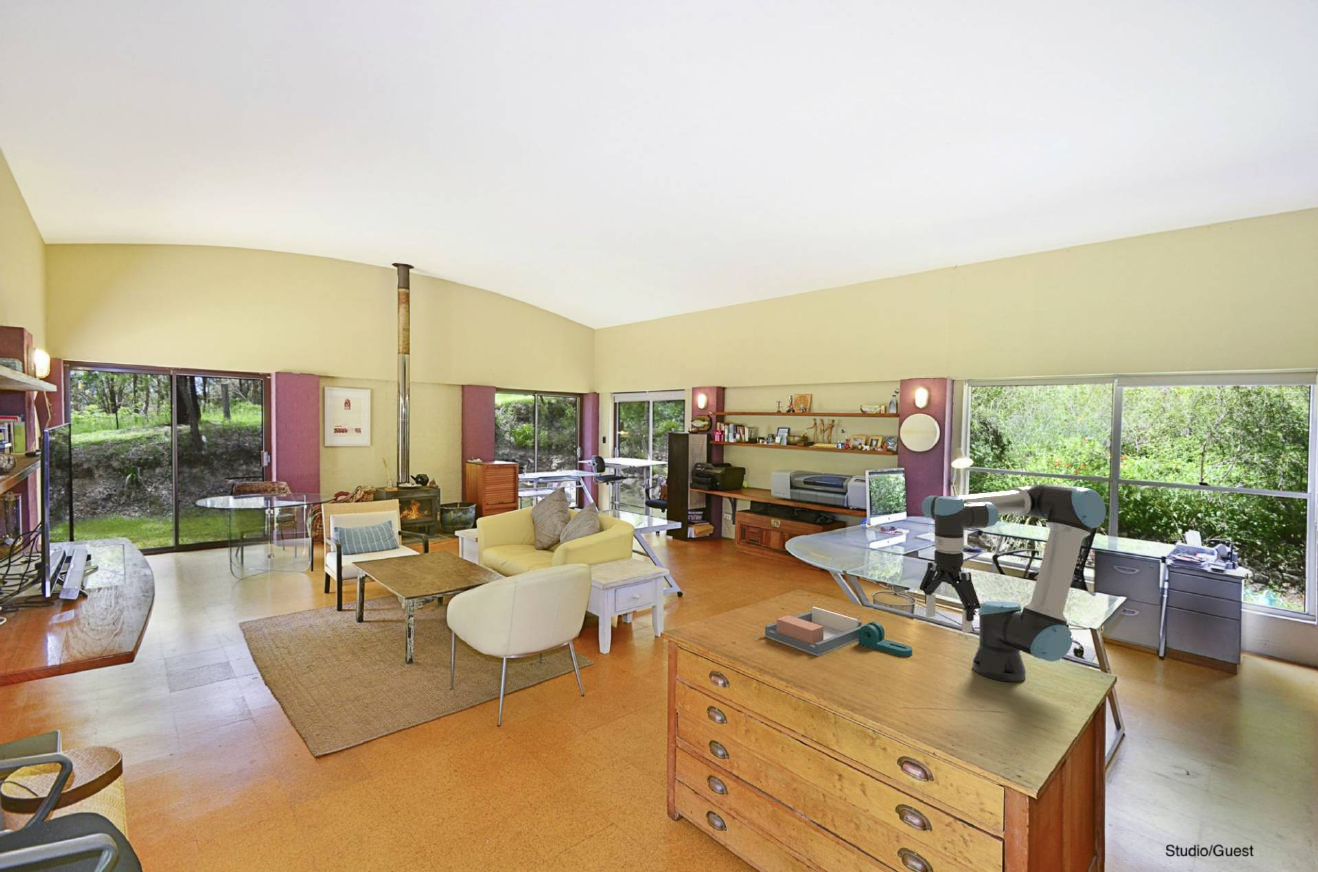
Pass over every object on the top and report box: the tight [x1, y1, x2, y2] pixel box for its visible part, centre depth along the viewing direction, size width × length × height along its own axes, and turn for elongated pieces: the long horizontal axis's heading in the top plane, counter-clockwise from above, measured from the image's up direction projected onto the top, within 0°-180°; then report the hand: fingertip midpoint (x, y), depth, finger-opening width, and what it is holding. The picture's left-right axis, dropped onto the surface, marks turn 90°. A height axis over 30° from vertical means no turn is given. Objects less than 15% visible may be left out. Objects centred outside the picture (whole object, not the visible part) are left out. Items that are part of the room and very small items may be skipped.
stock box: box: [776, 614, 824, 646], centre depth 219 cm, size 7×16×7 cm, turn 40°
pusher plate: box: [811, 606, 859, 632], centre depth 233 cm, size 1×20×6 cm, turn 40°
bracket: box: [858, 621, 913, 658], centre depth 214 cm, size 18×7×8 cm, turn 46°
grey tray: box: [764, 610, 864, 657], centre depth 225 cm, size 30×24×6 cm
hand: (948, 623), depth 170 cm, fingers open, 13 cm apart
